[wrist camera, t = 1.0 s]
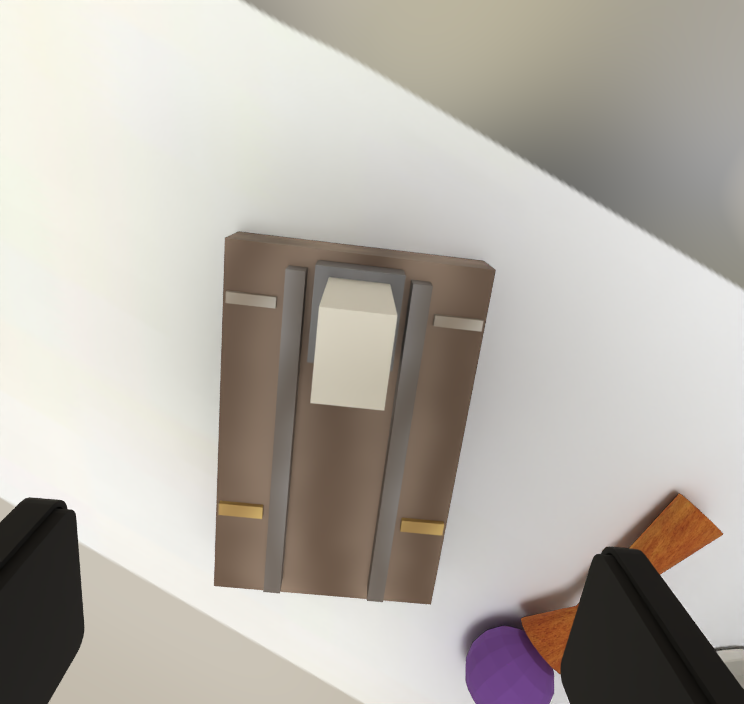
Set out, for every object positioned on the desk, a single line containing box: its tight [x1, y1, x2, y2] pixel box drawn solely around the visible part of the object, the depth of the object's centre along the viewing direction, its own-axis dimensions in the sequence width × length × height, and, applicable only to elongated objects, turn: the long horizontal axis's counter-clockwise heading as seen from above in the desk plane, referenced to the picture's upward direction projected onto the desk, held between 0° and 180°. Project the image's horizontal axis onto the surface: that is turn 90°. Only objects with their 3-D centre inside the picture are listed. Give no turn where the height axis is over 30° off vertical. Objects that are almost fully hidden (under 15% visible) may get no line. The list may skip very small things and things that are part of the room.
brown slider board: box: [214, 232, 496, 604], centre depth 32 cm, size 14×22×4 cm, turn 173°
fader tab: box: [307, 260, 406, 411], centre depth 25 cm, size 4×5×8 cm
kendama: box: [466, 493, 723, 704], centre depth 36 cm, size 6×6×20 cm
